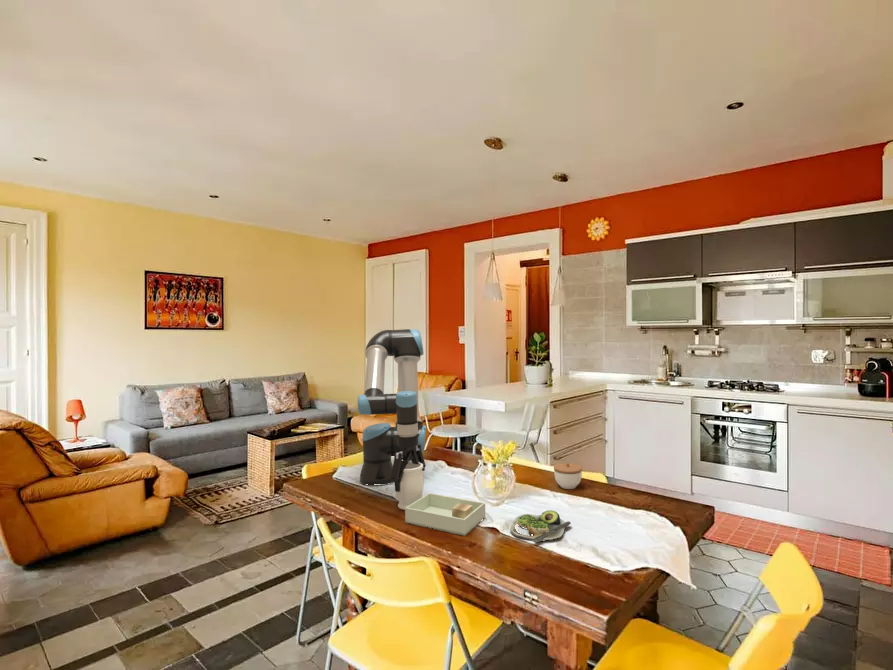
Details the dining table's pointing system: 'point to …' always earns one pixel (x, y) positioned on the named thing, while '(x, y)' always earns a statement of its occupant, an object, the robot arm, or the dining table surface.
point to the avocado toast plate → (540, 526)
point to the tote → (443, 514)
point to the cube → (461, 510)
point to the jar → (411, 484)
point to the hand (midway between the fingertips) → (409, 494)
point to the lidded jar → (568, 475)
